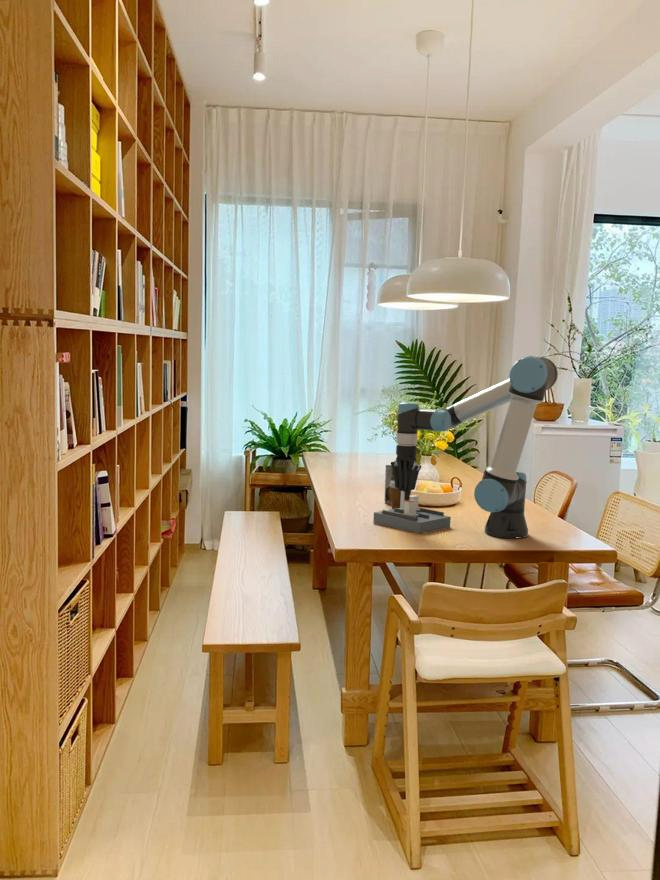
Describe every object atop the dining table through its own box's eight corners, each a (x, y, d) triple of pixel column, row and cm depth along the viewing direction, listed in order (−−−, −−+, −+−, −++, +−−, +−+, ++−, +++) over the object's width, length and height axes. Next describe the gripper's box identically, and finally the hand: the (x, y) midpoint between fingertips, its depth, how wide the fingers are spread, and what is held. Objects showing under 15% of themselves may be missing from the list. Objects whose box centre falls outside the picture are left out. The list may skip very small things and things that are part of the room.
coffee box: (404, 502, 328) (406, 465, 326) (405, 504, 322) (407, 467, 320) (383, 501, 328) (385, 464, 326) (384, 504, 322) (386, 466, 320)
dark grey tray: (450, 527, 280) (451, 501, 279) (419, 533, 267) (420, 506, 266) (404, 517, 295) (405, 492, 294) (373, 522, 283) (374, 496, 282)
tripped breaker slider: (418, 516, 277) (419, 500, 276) (409, 517, 273) (410, 501, 273) (409, 514, 280) (410, 498, 279) (401, 515, 276) (401, 500, 276)
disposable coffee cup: (391, 513, 302) (393, 483, 300) (385, 508, 311) (386, 480, 310) (414, 513, 304) (416, 484, 302) (407, 508, 313) (409, 480, 312)
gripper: (427, 445, 274) (424, 509, 276) (399, 442, 283) (397, 504, 286) (414, 447, 269) (411, 512, 271) (386, 443, 278) (384, 506, 280)
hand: (404, 508), depth 278 cm, fingers closed
